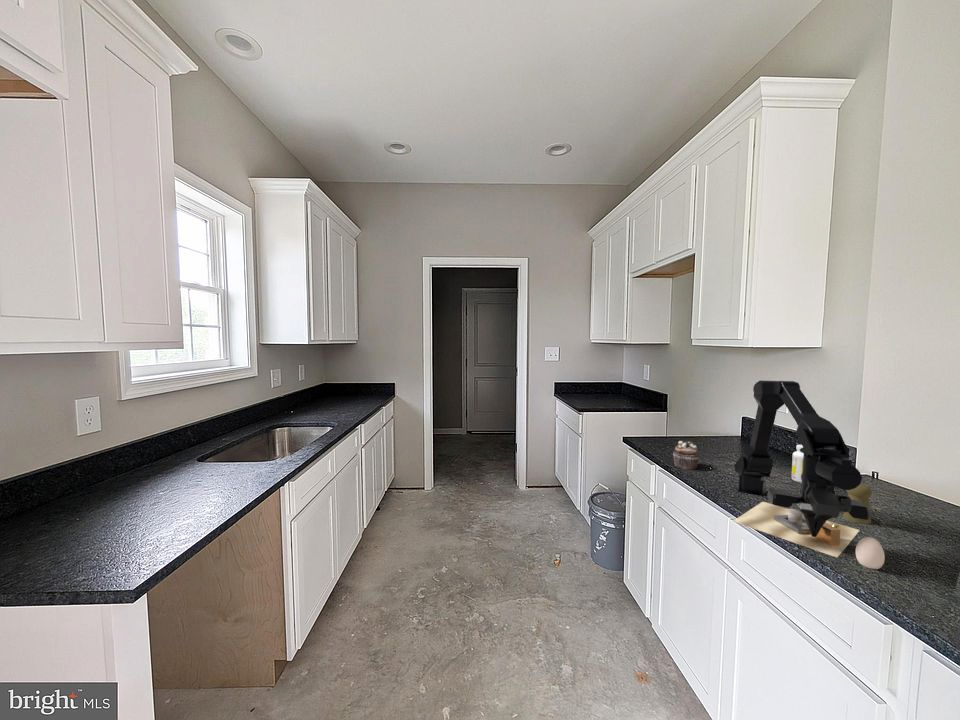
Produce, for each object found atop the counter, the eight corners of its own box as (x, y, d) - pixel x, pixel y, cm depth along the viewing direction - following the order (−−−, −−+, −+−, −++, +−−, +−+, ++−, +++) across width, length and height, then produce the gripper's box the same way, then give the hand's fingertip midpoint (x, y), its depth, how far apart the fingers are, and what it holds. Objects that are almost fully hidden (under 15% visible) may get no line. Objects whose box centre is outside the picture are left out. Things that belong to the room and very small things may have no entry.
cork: (841, 515, 115) (843, 478, 114) (870, 521, 111) (872, 483, 110) (842, 523, 110) (845, 484, 110) (873, 530, 107) (875, 490, 106)
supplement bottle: (819, 483, 140) (821, 447, 139) (807, 485, 138) (810, 449, 137) (798, 476, 146) (800, 443, 145) (786, 479, 144) (788, 444, 143)
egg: (868, 563, 91) (870, 532, 91) (889, 575, 86) (892, 542, 86) (848, 563, 91) (850, 532, 90) (869, 575, 86) (871, 543, 86)
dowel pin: (829, 537, 100) (830, 524, 100) (831, 535, 101) (832, 522, 101) (837, 540, 99) (838, 527, 99) (839, 538, 100) (840, 525, 100)
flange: (773, 519, 110) (774, 505, 110) (800, 518, 111) (801, 505, 110) (819, 546, 96) (820, 530, 96) (850, 545, 97) (851, 529, 96)
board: (732, 524, 109) (733, 507, 109) (762, 504, 122) (763, 488, 122) (837, 561, 91) (838, 540, 91) (859, 533, 104) (860, 515, 104)
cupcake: (668, 462, 163) (669, 438, 162) (692, 462, 163) (693, 438, 162) (679, 469, 153) (679, 444, 153) (704, 470, 153) (705, 445, 152)
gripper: (780, 479, 94) (776, 542, 95) (884, 493, 87) (879, 561, 87) (768, 466, 105) (765, 523, 105) (860, 477, 97) (856, 539, 98)
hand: (813, 536), depth 99 cm, fingers closed
